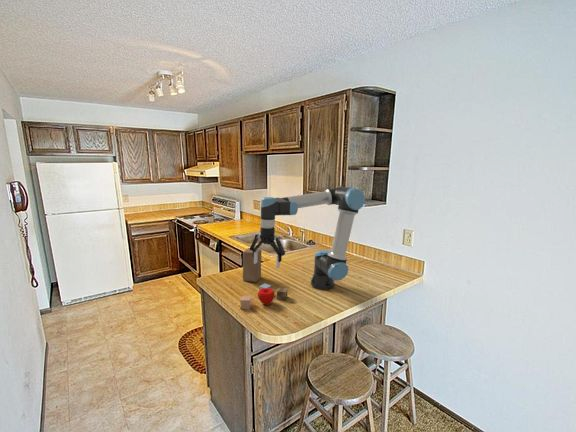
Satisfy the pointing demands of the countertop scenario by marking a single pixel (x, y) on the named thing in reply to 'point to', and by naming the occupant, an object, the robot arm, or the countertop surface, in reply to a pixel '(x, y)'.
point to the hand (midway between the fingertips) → (266, 265)
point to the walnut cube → (282, 293)
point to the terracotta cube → (246, 302)
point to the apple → (266, 295)
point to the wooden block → (251, 266)
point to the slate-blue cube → (264, 286)
